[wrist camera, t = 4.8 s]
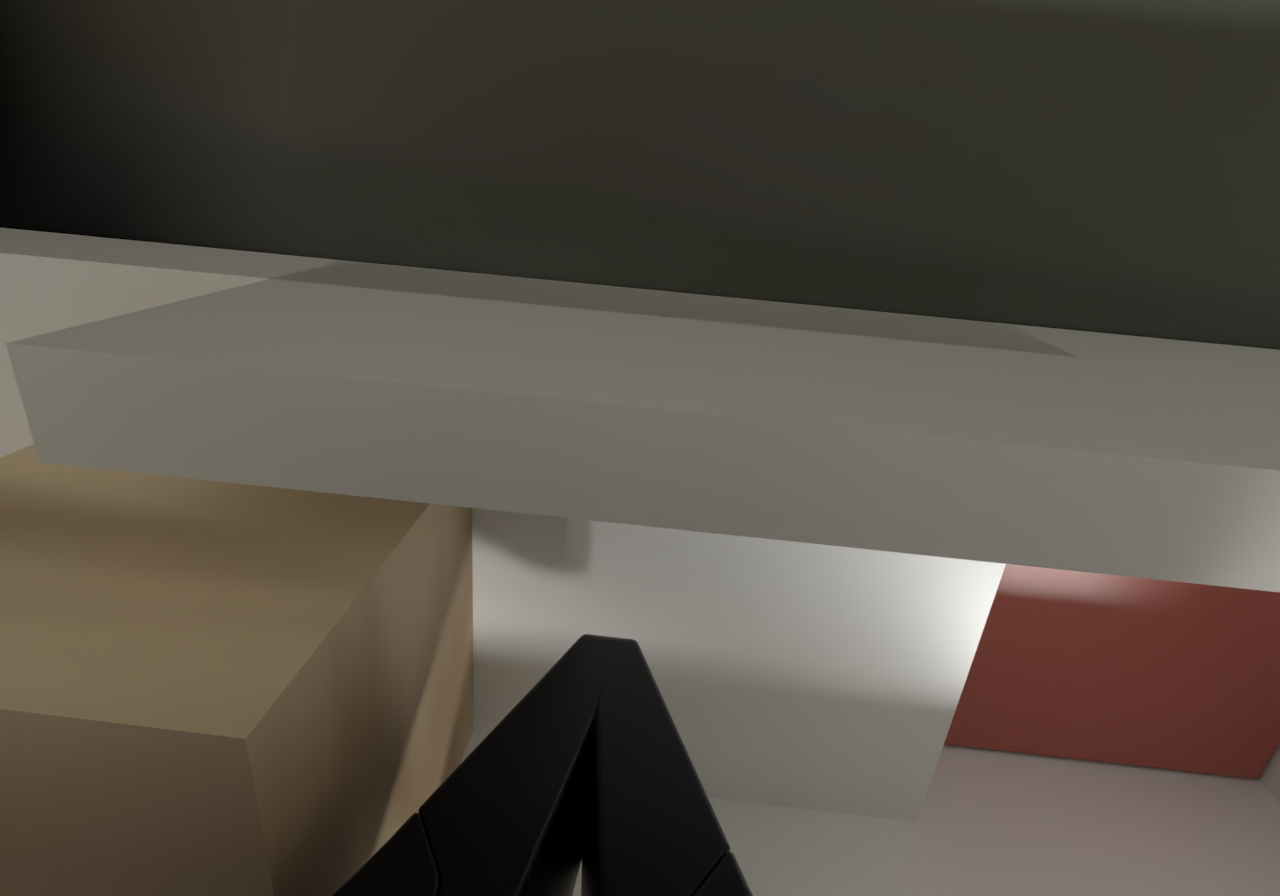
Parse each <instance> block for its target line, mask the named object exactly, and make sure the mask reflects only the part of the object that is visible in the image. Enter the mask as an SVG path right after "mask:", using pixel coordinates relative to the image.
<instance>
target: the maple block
mask: <svg viewBox="0 0 1280 896" xmlns="http://www.w3.org/2000/svg"><path fill="white" fill-rule="evenodd" d="M473 730H474V719H473V569H472V508H468V507H458V506H449V505H439V504H429V503H420V502H410V501H401V500H391V499H382V498H372V497H362V496H353V495H343V494H334V493H324V492H315V491H305V490H296V489H286V488H276V487H267V486H257V485H248V484H238V483H229V482H219V481H209V480H200V479H190V478H181V477H171V476H162V475H152V474H142V473H133V472H123V471H114V470H104V469H95V468H85V467H76V466H66V465H56V464H47V463H39V459H38V456H37V452H36V449H35V445H34V444H32V445H30V446H27V447H25V448H22V449H20V450H18V451H15V452H13V453H10V454H8V455H5V456H3V457H0V896H332V895H333V894H334V893H335V892H336V891H337V890H338V889H339V888H340V887H341V886H343V885H344V884H345V883H346V882H347V881H348V880H349V879H350V878H351V877H352V876H353V875H354V874H355V873H356V872H357V871H358V870H359V869H360V868H361V867H362V866H363V865H364V864H365V863H366V862H367V861H368V860H369V859H370V858H371V857H372V856H373V855H374V854H375V853H376V852H377V851H378V850H379V849H380V848H381V847H382V846H383V845H384V844H385V843H386V842H387V841H388V840H389V839H390V838H391V837H392V836H393V835H394V834H395V833H396V832H397V830H398V829H399V828H400V827H401V826H402V825H403V824H404V823H405V822H406V821H407V820H408V819H409V818H410V817H411V815H412V814H414V813H419V808H420V806H421V805H422V804H423V803H424V802H425V801H426V800H427V799H428V798H429V797H430V796H431V795H432V794H433V793H434V792H435V791H436V789H437V788H438V787H439V786H440V785H441V784H442V783H443V782H444V781H445V780H446V779H447V778H448V777H449V776H450V775H451V774H452V773H453V771H454V770H455V769H456V768H457V767H458V766H459V765H460V763H461V761H462V758H463V756H464V753H465V750H466V748H467V745H468V743H469V740H470V737H471V735H472V732H473Z"/></svg>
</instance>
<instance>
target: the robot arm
mask: <svg viewBox="0 0 1280 896" xmlns="http://www.w3.org/2000/svg"><path fill="white" fill-rule="evenodd" d="M581 860H582V873H581V896H753V894H752V892H751V890H750V888H749V886H748V884H747V882H746V880H745V878H744V875H743V873H742V871H741V869H740V866H739V864H738V862H737V860H736V858H735V855H734V854H733V853H732V852H730V845H729V843H728V841H727V839H726V836H725V834H724V832H723V830H722V827H721V825H720V823H719V821H718V819H717V816H716V814H715V812H714V810H713V808H712V805H711V803H710V801H709V799H708V797H707V794H706V792H705V790H704V788H703V785H702V783H701V781H700V779H699V777H698V774H697V772H696V770H695V768H694V766H693V763H692V761H691V759H690V757H689V754H688V752H687V750H686V748H685V746H684V743H683V741H682V739H681V737H680V735H679V732H678V730H677V728H676V726H675V724H674V721H673V719H672V717H671V715H670V712H669V710H668V708H667V706H666V704H665V701H664V699H663V697H662V695H661V693H660V690H659V688H658V686H657V684H656V682H655V679H654V677H653V675H652V673H651V670H650V668H649V666H648V664H647V662H646V659H645V657H644V655H643V653H642V651H641V648H640V646H639V644H638V643H637V641H635V640H633V639H626V638H617V637H609V636H600V635H592V634H584V635H582V636H581V637H580V638H579V639H578V640H577V641H576V642H575V643H574V644H573V645H572V646H571V647H570V648H569V649H568V650H567V652H566V653H565V654H564V655H563V656H562V657H561V658H560V659H559V660H558V661H557V662H556V663H555V664H554V665H553V666H552V667H551V669H550V670H549V671H548V672H547V673H546V674H545V675H544V676H543V677H542V678H541V679H540V680H539V681H538V682H537V683H536V684H535V685H534V687H533V688H532V689H531V690H530V691H529V692H528V693H527V694H526V695H525V696H524V697H523V698H522V699H521V700H520V701H519V702H518V704H517V705H516V706H515V707H514V708H513V709H512V710H511V711H510V712H509V713H508V714H507V715H506V716H505V717H504V718H503V719H502V721H501V722H500V723H499V724H498V725H497V726H496V727H495V728H494V729H493V730H492V731H491V732H490V733H489V734H488V735H487V736H486V737H485V739H484V740H483V741H482V742H481V743H480V744H479V745H478V746H477V747H476V748H475V749H474V750H473V751H472V752H471V753H470V754H469V756H468V757H467V758H466V759H465V760H464V761H463V762H462V763H461V764H460V765H459V766H458V767H457V768H456V769H455V770H454V771H453V773H452V774H451V775H450V776H449V777H448V778H447V779H446V780H445V781H444V782H443V783H442V784H441V785H440V786H439V787H438V788H437V789H436V791H435V792H434V793H433V794H432V795H431V796H430V797H429V798H428V799H427V800H426V801H425V802H424V803H423V804H422V805H421V806H420V808H419V813H414V814H412V815H411V817H410V818H409V819H408V820H407V821H406V822H405V823H404V824H403V825H402V826H401V827H400V828H399V829H398V830H397V832H396V833H395V834H394V835H393V836H392V837H391V838H390V839H389V840H388V841H387V842H386V843H385V844H384V845H383V846H382V847H381V848H380V849H379V850H378V851H377V852H376V853H375V854H374V855H373V856H372V857H371V858H370V859H369V860H368V861H367V862H366V863H365V864H364V865H363V866H362V867H361V868H360V869H359V870H358V871H357V872H356V873H355V874H354V875H353V876H352V877H351V878H350V879H349V880H348V881H347V882H346V883H345V884H344V885H343V886H341V887H340V888H339V889H338V890H337V891H336V892H335V893H334V894H333V895H332V896H573V892H574V888H575V884H576V880H577V876H578V872H579V868H580V864H581Z"/></svg>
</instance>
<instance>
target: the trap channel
mask: <svg viewBox="0 0 1280 896" xmlns="http://www.w3.org/2000/svg"><path fill="white" fill-rule="evenodd" d="M32 444H34V445H35V449H36V452H37V456H38V459H39V463H47V464H56V465H66V466H76V467H85V468H95V469H104V470H114V471H123V472H133V473H142V474H152V475H162V476H171V477H181V478H190V479H200V480H209V481H219V482H229V483H238V484H248V485H257V486H267V487H276V488H286V489H296V490H305V491H315V492H324V493H334V494H343V495H353V496H362V497H372V498H382V499H391V500H401V501H410V502H420V503H429V504H439V505H449V506H458V507H468V508H472V569H473V719H474V730H473V732H472V735H471V737H470V740H469V743H468V745H467V748H466V750H465V753H464V756H463V758H462V761H461V763H462V762H463V761H464V760H465V759H466V758H467V757H468V756H469V754H470V753H471V752H472V751H473V750H474V749H475V748H476V747H477V746H478V745H479V744H480V743H481V742H482V741H483V740H484V739H485V737H486V736H487V735H488V734H489V733H490V732H491V731H492V730H493V729H494V728H495V727H496V726H497V725H498V724H499V723H500V722H501V721H502V719H503V718H504V717H505V716H506V715H507V714H508V713H509V712H510V711H511V710H512V709H513V708H514V707H515V706H516V705H517V704H518V702H519V701H520V700H521V699H522V698H523V697H524V696H525V695H526V694H527V693H528V692H529V691H530V690H531V689H532V688H533V687H534V685H535V684H536V683H537V682H538V681H539V680H540V679H541V678H542V677H543V676H544V675H545V674H546V673H547V672H548V671H549V670H550V669H551V667H552V666H553V665H554V664H555V663H556V662H557V661H558V660H559V659H560V658H561V657H562V656H563V655H564V654H565V653H566V652H567V650H568V649H569V648H570V647H571V646H572V645H573V644H574V643H575V642H576V641H577V640H578V639H579V638H580V637H581V636H582V635H584V634H592V635H600V636H609V637H617V638H626V639H633V640H635V641H637V643H638V644H639V646H640V648H641V651H642V653H643V655H644V657H645V659H646V662H647V664H648V666H649V668H650V670H651V673H652V675H653V677H654V679H655V682H656V684H657V686H658V688H659V690H660V693H661V695H662V697H663V699H664V701H665V704H666V706H667V708H668V710H669V712H670V715H671V717H672V719H673V721H674V724H675V726H676V728H677V730H678V732H679V735H680V737H681V739H682V741H683V743H684V746H685V748H686V750H687V752H688V754H689V757H690V759H691V761H692V763H693V766H694V768H695V770H696V772H697V774H698V777H699V779H700V781H701V783H702V785H703V788H704V790H705V792H706V794H707V797H708V799H709V801H710V803H711V805H712V808H713V810H714V812H715V814H716V816H717V819H718V821H719V823H720V825H721V827H722V830H723V832H724V834H725V836H726V839H727V841H728V843H729V845H730V852H732V853H733V854H734V855H735V858H736V860H737V862H738V864H739V866H740V869H741V871H742V873H743V875H744V878H745V880H746V882H747V884H748V886H749V888H750V890H751V892H752V894H753V896H1280V350H1277V349H1267V348H1256V347H1246V346H1235V345H1225V344H1214V343H1204V342H1193V341H1183V340H1172V339H1162V338H1151V337H1141V336H1130V335H1120V334H1109V333H1099V332H1089V331H1078V330H1068V329H1057V328H1047V327H1036V326H1026V325H1015V324H1005V323H994V322H984V321H973V320H963V319H952V318H942V317H931V316H921V315H911V314H900V313H890V312H879V311H869V310H858V309H848V308H837V307H827V306H816V305H806V304H795V303H785V302H774V301H764V300H753V299H743V298H733V297H722V296H712V295H701V294H691V293H680V292H670V291H659V290H649V289H638V288H628V287H617V286H607V285H596V284H586V283H575V282H565V281H555V280H544V279H534V278H523V277H513V276H502V275H492V274H481V273H471V272H460V271H450V270H439V269H429V268H418V267H408V266H397V265H387V264H377V263H366V262H356V261H345V260H335V259H324V258H314V257H303V256H293V255H282V254H272V253H261V252H251V251H240V250H230V249H219V248H209V247H199V246H188V245H178V244H167V243H157V242H146V241H136V240H125V239H115V238H104V237H94V236H83V235H73V234H62V233H52V232H42V231H31V230H21V229H10V228H0V457H3V456H5V455H8V454H10V453H13V452H15V451H18V450H20V449H22V448H25V447H27V446H30V445H32ZM461 763H460V764H461ZM581 873H582V860H581V864H580V868H579V872H578V876H577V880H576V884H575V888H574V892H573V896H581Z"/></svg>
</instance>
